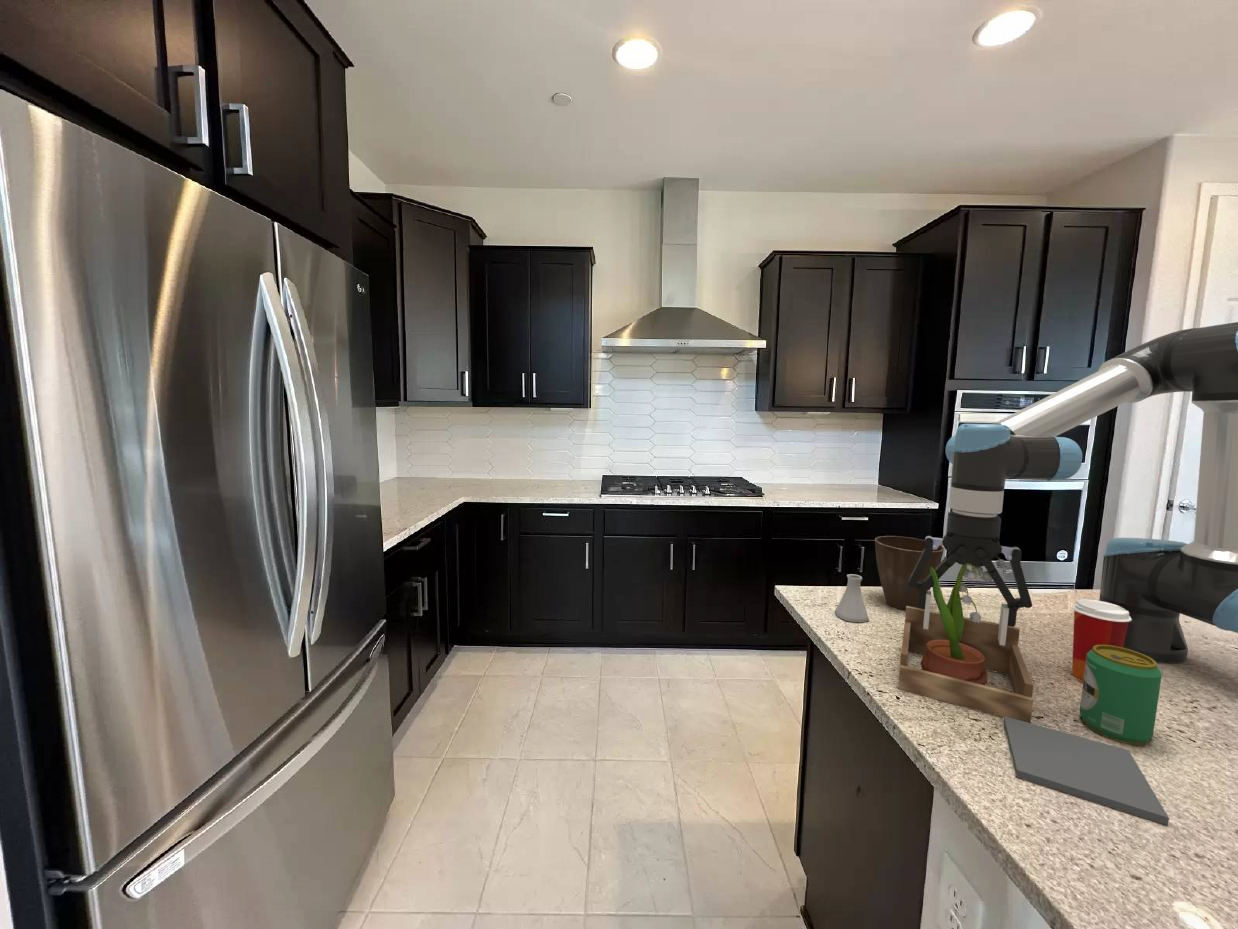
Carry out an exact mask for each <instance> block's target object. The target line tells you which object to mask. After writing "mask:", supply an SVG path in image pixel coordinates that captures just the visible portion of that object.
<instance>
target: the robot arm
mask: <svg viewBox="0 0 1238 929" xmlns="http://www.w3.org/2000/svg"><path fill="white" fill-rule="evenodd" d="M1180 392H1181V393H1182V392H1183V393H1184V392H1186V393H1187V392H1189V393H1190V392H1191V404H1193V405H1195V406H1196V407H1197V408H1199V409H1200V410H1201V411H1202V412H1203V417H1202V428H1201V430H1202V431H1201V442H1200V444H1201V445H1200V456H1199V457H1200V458H1199V469H1198V470H1199V471H1198V473H1199V474H1198V481H1197V494H1196V495H1197V496H1196V509H1195V510H1196V511H1195V520H1194V521H1195V522H1194V535H1193V537H1194V538H1193V541H1192V542H1189V543H1186V542H1183V541H1175V540H1167V539H1166V540H1165V539H1158V538H1157V539H1156V538H1145V537H1143V538H1142V537H1141V538H1139V537H1115V538H1111V539H1110V540H1108V541H1107V543H1106V547H1105V551H1104V554H1103V562H1102V573H1101V580H1100V581H1101V582H1100V590H1099V599H1098V601H1103V602H1107V603H1111V604H1115V605H1118V606H1120V607H1122V608H1124V609H1125V610H1127V611H1128V612H1129V616H1130V617H1131V619H1132V620H1131V621H1129V622H1128V627H1127V631H1126V636H1125V640H1124V645H1123V648H1126V649H1129V650H1132V651H1136V652H1138V653H1141V654H1144V655H1146V656H1148V657H1150V658H1152V659H1153V660H1154V661H1156V663H1163V664H1182V663H1183V664H1184V663H1185V662H1187V660H1188V653H1189V648H1188V644H1187V641H1186V638H1185V634H1184V631H1183V629H1182V624H1181V622H1180V616H1181V615H1183V616H1186V617H1189V618H1192V619H1194V620H1197V621H1201V622H1203V623H1205V624H1208V625H1212V626H1215V627H1216V628H1218V629H1220V630H1222V631H1229V632H1233V633H1237V634H1238V321H1235V322H1229V323H1223V324H1216V325H1210V326H1208V325H1207V326H1203V327H1202V326H1201V327H1195V328H1194V327H1193V328H1187V329H1181V330H1177V331H1174V332H1173V331H1172V332H1169V333H1166V334H1164V335H1161V336H1159V337H1157V338H1156V337H1155V338H1154V339H1151V340H1149V341H1146V342H1144V343H1141V344H1139V345H1137V346H1136V347H1132V348H1131V349H1128V350H1127V351H1124V352H1123V353H1120V354H1119V355H1116V356H1115V357H1112V358H1110V359H1108V360H1107V361H1104V362H1103V363H1101V365H1100V366H1099V369H1098V371H1097V372H1096V371H1095V372H1094V373H1092V374H1090V375H1088V376H1086V377H1083V378H1082V379H1080V380H1078V381H1076V382H1074V383H1073V384H1070V385H1068V386H1066V387H1064V388H1062V389H1060V390H1058V391H1056V392H1054V393H1051V394H1050V395H1048V396H1045V397H1044V398H1042V399H1040V400H1038V401H1036V402H1034V403H1032V404H1030V405H1028V406H1026V407H1024V408H1022V409H1020V410H1018V411H1016V412H1014V413H1011V414H1010V415H1008V416H1007V417H1004V418H1002V419H1000V420H998V421H996V422H994V423H992V424H990V423H963V424H960V425H959V426H958V427H957V429H956V432H955V434H954V435H952V436H951V437H950V438H949V439H948V441H947V442H946V446H945V456H946V458H947V460H948V461H949V463H950V464H951V465H952V467H951V477H950V478H951V480H950V488H949V500H948V508H950V511H948V512H947V519H946V520H947V521H946V532H945V535H944V536H943V537H942V538H941V537H933V536H932V535H926V536H925V539H924V540H925V548H924V550H923V552H922V554H921V556H920V558H919V560H918V562H917V564H916V566H915V568H914V570H913V572H912V574H911V576H910V578H909V582H908V585H909V586H910V587H912V588H915V589H917V590H918V592H919V597H918V607H919V609H924V610H925V612H924V624H923V629H928V626H929V615H930V610H931V603H932V601H931V600H932V590H931V589H932V586H933V585H934V581H933V576H932V575H930V574H929V575H928V576H927V577H926V578H925V579H924V580H923V581H922V582H919V581H918V580H919V578H920V576H921V574H922V572H923V570H924V568H925V566H926V564H927V562H928V560H929V558H930V556H931V554H932V551H933V550H936V549H937V548H938V546H939V545H941V546H942V547H943V548H944V550H946V551H947V554H946V555H945V556H944V558H942V559H941V562H940V563H939V565H938V566H937V567H936V568H935V569H934V571H935V572H936V574H937V577H938V580H939V579H940V578H942V576H943V575H945V573H946V572H947V571H948V570H949V569H950V568H951V567H953V566H954V565H955V564H958V565H961V566H962V565H966V564H967V563H971V564H972V565H974V566H976V567H981V568H982V567H984V568H985V569H986V571H988V573H989V574H990V576H991V577H992V580H993V582H994V584H995V585H996V587H997V589H998V591H999V592H1000V593H1001V596H1003V597H1002V598H1004V600H1005V602H1006V603H1003V602H1001V605H1000V614H999V623H998V624H999V632H998V641H999V644H1000V645H1003V646H1005V642H1006V633H1007V626H1011V627H1016V624H1017V614H1018V610H1020V609H1021V608H1026V609H1031V608H1032V607H1033V601H1032V600H1031V597H1030V596H1031V595H1030V592H1029V589H1028V585H1027V583H1026V578H1025V574H1024V571H1023V568H1022V565H1021V562H1022V555H1023V552H1022V550H1021V549H1020V548H1019V547H1018V546H1012V547H1011V546H1006V545H1005V546H1004V545H1001V543H1000V532H1001V524H1002V519H1001V517H1000V516H999V515H1000V514H1001V513H1002V512H1003V504H1004V495H1005V494H1004V492H1005V485H1006V480H1036V481H1047V482H1052V481H1056V480H1057V481H1058V480H1059V481H1060V480H1066V479H1070V478H1072V477H1073V476H1075V474H1077V473H1079V470H1080V469H1081V467H1082V461H1083V451H1082V449H1081V448H1080V445H1079V444H1078V443H1077V442H1076V441H1075V440H1073V439H1071V438H1068V437H1065V436H1063V437H1062V436H1059V435H1061V434H1063V433H1065V432H1068V431H1070V430H1071V429H1074V428H1075V427H1077V426H1080V425H1082V424H1084V423H1087V422H1088V421H1090V420H1092V419H1094V418H1096V417H1098V416H1100V415H1103V414H1105V413H1106V412H1108V411H1110V410H1112V409H1115V408H1116V407H1119V406H1121V405H1123V404H1124V403H1126V404H1127V403H1130V404H1131V403H1138V402H1142V401H1143V400H1146V399H1148V398H1150V397H1153V396H1158V395H1163V394H1170V393H1172V394H1173V393H1180ZM1000 554H1003V555H1004V558H1005V559H1006V560H1007V561H1009V564H1010V568H1011V571H1012V575H1013V577H1014V581H1015V585H1016V589H1017V591H1018V592H1017V593H1018V595H1019V597H1016V598H1015V597H1014V595H1013V593H1012V592H1011V590H1010V589H1009V587H1008V586H1007V584H1006V583H1005V580H1004V579H1003V577H1002V576H1001V574H1000V572H999V571H998V568H997V567H996V565H995V564H994V562H993V561H992V562H991V560H994V559H995V558H997V557H998V555H1000ZM996 556H997V557H996ZM930 588H931V589H930ZM929 589H930V590H929Z"/></svg>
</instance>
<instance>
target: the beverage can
mask: <svg viewBox="0 0 1238 929" xmlns="http://www.w3.org/2000/svg"><path fill="white" fill-rule="evenodd" d="M1162 677H1163V674H1162V671H1161V670H1160V668H1159V667H1158V662H1156V661H1154V660H1153V659H1152V658H1150V657H1148V656H1146V655H1144V654H1141V653H1138V652H1136V651H1132V650H1129V649H1126V648H1121V647H1117V646H1111V645H1095V646H1093V649H1092V650H1090V651H1089V652H1088V653H1087V656H1086V664H1085V672H1084V680H1083V681H1082V689H1081V695H1080V696H1081V698H1080V704H1079V712H1078V713H1079V715H1080V716H1081V718H1082V722H1083V723H1084V725H1085V726H1087V727H1088V728H1089V729H1090V730H1092V731H1093V732H1096V733H1097V734H1099V735H1101V736H1103V737H1105V738H1108V739H1110V738H1111V740H1113V739H1114V741H1116V740H1117V742H1120V743H1125V744H1129V745H1136V746H1139V745H1140V746H1141V745H1145V743H1146V744H1147V743H1148V741H1149V740H1151V739H1152V738H1153V737H1154V731H1155V724H1156V718H1157V717H1156V716H1157V712H1158V704H1159V696H1160V689H1161V683H1162V682H1161V681H1162Z"/></svg>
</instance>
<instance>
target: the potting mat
mask: <svg viewBox="0 0 1238 929" xmlns="http://www.w3.org/2000/svg"><path fill="white" fill-rule="evenodd" d="M1002 721H1003V726H1004V730H1005V734H1006V738H1007V743H1008V747H1009V752H1010V755H1011V760H1012V764H1013V768H1014V773H1015V776H1016V778H1018V779H1021V780H1025V781H1028V782H1031V783H1034V784H1038V785H1041V786H1044V787H1045V788H1050V789H1052V790H1056V791H1059V792H1062V793H1065V794H1068V795H1071V796H1074V797H1078V798H1081V799H1084V800H1087V801H1090V802H1093V803H1096V804H1100V805H1103V806H1106V807H1109V808H1112V809H1115V810H1118V811H1121V812H1123V813H1127V814H1130V815H1133V816H1137V817H1139V818H1142V819H1146V820H1149V821H1152V822H1154V823H1158V824H1161V825H1164V826H1169V820H1170V817H1169V816H1168V813H1167V811H1166V810H1165V809H1164V807H1163V805H1162V803H1161V802H1160V800H1159V799H1158V797H1157V795H1156V794H1155V792H1154V790H1153V788H1152V786H1151V785H1150V783H1149V782H1148V780H1147V778H1146V777H1145V774H1143V772H1142V770H1141V768H1140V767H1139V765H1138V763H1137V762H1136V760H1135V759H1134V757H1133V755H1132V753H1131V752H1130V750H1129V749H1126V748H1123V747H1119V746H1116V745H1111V744H1108V743H1104V742H1101V741H1098V740H1094V739H1089V738H1087V737H1083V736H1078V735H1075V734H1072V733H1068V732H1064V731H1062V730H1061V731H1060V730H1058V729H1057V730H1056V729H1052V728H1050V727H1046V726H1042V725H1039V724H1034V723H1032V722H1031V723H1028V722H1024V721H1021V720H1017V719H1013V718H1010V717H1006V716H1004V717H1003V720H1002Z"/></svg>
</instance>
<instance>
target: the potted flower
mask: <svg viewBox="0 0 1238 929" xmlns="http://www.w3.org/2000/svg"><path fill="white" fill-rule="evenodd" d="M995 558H997V559H998V560H996V562H995V564H996V565H995V566H996V569H999V568H1000V569H1004V568H1008V567H1007V565H1006V564H1007V563H1006V561H1005V560H1004V559H1001V558H1000V557H998V555H997V556H996V557H995ZM991 562H993V561H992V560H991ZM967 566H971V570H970V569H969V568H968V567H967ZM930 575H932V576H933V581H934V585H933V586H932V587H931V589H932V593H933V598H934V601H935V603H936V606H937V610H938V612H940V615H941V618H942V622H943V625H944V631H945V633H946V635H947V637H948V639H949V641H948V640H932V641H929V642H928V643H927V644H926V646H927V652H926V653H925V654H924V655H923V654H922V658H921V660H920V661H921V662H920V667H921V670H925V671H929V672H933V673H937V674H941V675H945V676H949V677H953V678H956V679H960V680H964V681H968V682H972V683H976V684H980V685H984V686H987V684H988V672H987V670H986V669H985V668H984V661H985V657H984V656H983V654H982V653H981V652H979V651H978V650H976V649H974V648H972V647H970V646H967V645H964V644H961V643H959V641H960V639H961V635H962V631H963V627H964V619H963V617H964V612H963V604H962V603H964V604H966V605H972V604H973V607H974V609H975V611H972V612H971V613H970V614H969V618H970V619H969V620H972V621H973V622H978V623H980V620H982V616H981V614H980V613H979V612H978V611H977V610H978V609H977V607H976V604H975V602H974V601H973V599H972V597H971V596H969V590H968V586H967V585H966V584H965V583H964V582H963V577H965V578H967V579H966V580H967V581H970V582H974V581H975V582H976V581H977V576H979V579H981V580H983V581H986V582H988V583H990V584H992V580H993V579H992V577H991V576H990V574H989V573H988V571H987V570H985V571H984V569H983V568H982V566H981V567H976V566H974V565H972V564H971V563H967V564H966V565H961V567H960V569H959V571H958V574H957V577H956V580H955V584H954V586H953V587H952V590H951V592H950V596H949V599H948V602H947V603H946V601H945V599H944V596H943V592H942V588H941V585H940V582H939V579H938V577H937V574H936V572H935V571H934V569H933V568H932V566H931V568H930ZM960 592H961V593H965V595H963V596H962V597H961V595H960ZM971 603H972V604H971Z"/></svg>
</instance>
